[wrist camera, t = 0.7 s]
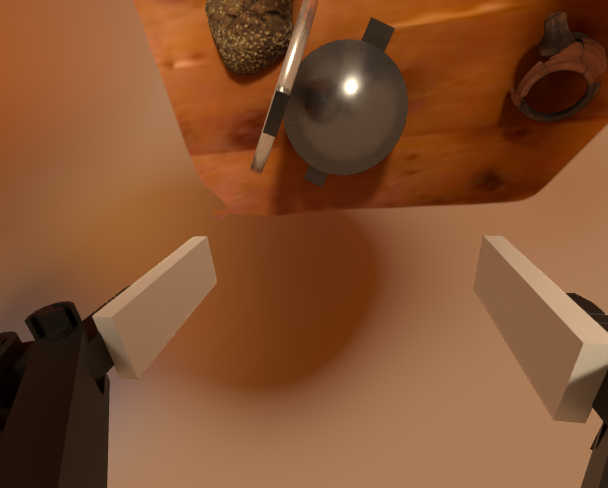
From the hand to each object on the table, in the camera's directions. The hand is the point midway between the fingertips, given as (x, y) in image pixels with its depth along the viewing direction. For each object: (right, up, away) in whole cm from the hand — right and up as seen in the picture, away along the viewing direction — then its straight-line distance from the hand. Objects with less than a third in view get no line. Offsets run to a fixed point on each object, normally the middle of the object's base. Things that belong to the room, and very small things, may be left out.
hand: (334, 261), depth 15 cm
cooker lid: (-3, +15, +15) cm, 22 cm away
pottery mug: (+31, +24, +25) cm, 47 cm away
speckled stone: (-9, +33, +30) cm, 46 cm away
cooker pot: (+5, +22, +32) cm, 39 cm away
